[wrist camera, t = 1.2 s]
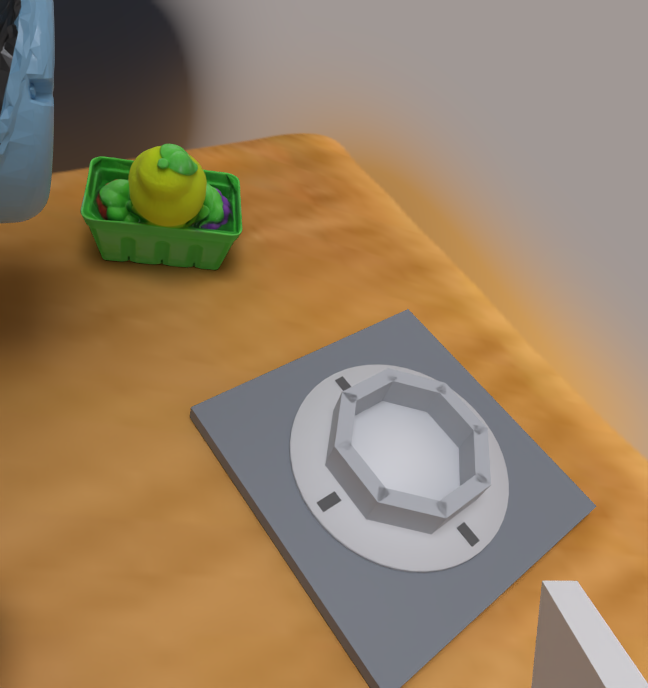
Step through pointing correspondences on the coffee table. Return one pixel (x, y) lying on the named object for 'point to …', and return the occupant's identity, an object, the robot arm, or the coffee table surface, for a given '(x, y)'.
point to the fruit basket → (162, 209)
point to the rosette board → (347, 582)
